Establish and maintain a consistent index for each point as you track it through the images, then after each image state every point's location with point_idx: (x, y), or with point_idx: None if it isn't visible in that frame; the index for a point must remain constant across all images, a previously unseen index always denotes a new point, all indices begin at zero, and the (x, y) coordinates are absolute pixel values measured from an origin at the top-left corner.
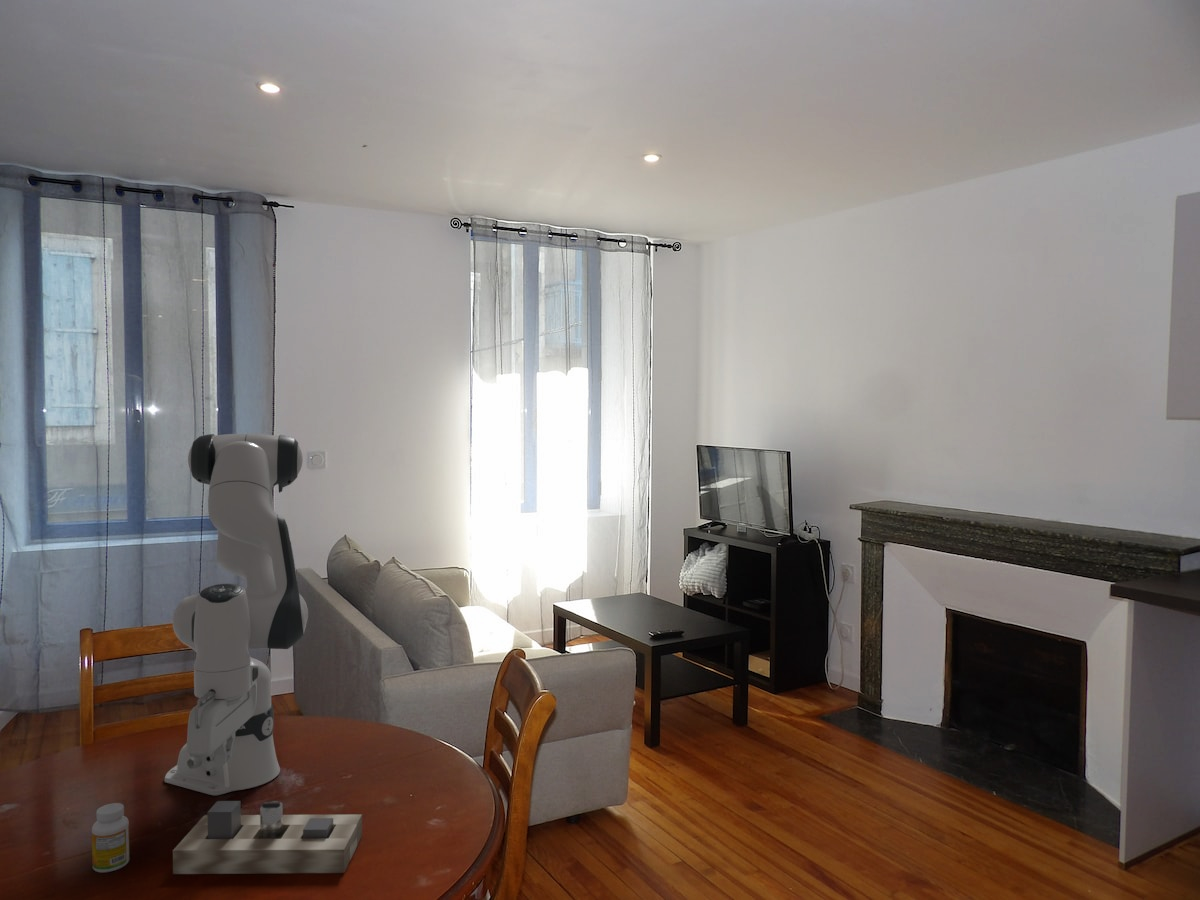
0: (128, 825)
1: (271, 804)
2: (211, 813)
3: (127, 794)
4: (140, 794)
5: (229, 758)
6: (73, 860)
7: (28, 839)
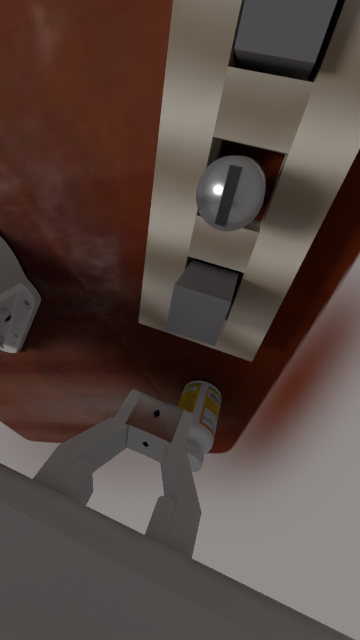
0: None
1: (233, 196)
2: (217, 337)
3: (50, 378)
4: (49, 369)
5: (153, 400)
6: None
7: None
